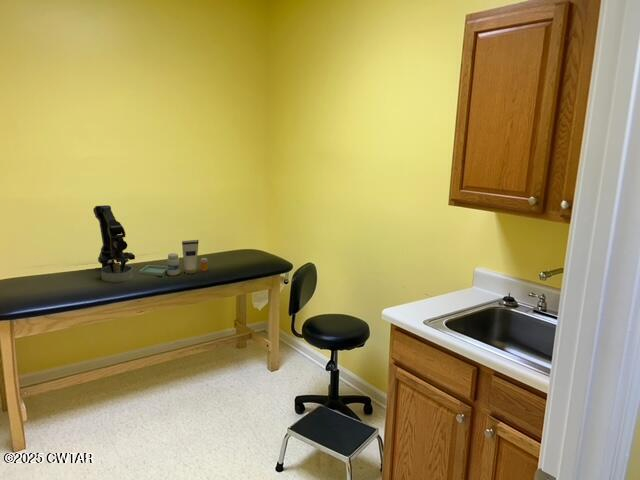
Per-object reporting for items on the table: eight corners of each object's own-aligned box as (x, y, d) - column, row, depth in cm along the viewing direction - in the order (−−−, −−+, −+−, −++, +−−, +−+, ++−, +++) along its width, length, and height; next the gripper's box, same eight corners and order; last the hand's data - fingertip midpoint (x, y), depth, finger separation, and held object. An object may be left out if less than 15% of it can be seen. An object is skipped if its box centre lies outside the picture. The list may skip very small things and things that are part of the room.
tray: (139, 274, 267) (139, 270, 267) (148, 268, 279) (147, 264, 278) (162, 276, 267) (162, 273, 266) (170, 270, 278) (170, 266, 277)
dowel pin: (113, 277, 258) (113, 264, 256) (116, 275, 261) (115, 262, 259) (118, 277, 258) (118, 264, 256) (121, 276, 261) (120, 262, 259)
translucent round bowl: (95, 281, 252) (95, 272, 251) (111, 272, 268) (110, 263, 267) (124, 284, 251) (124, 274, 250) (138, 274, 268) (137, 265, 266)
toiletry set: (168, 276, 268) (167, 243, 263) (165, 272, 274) (165, 240, 269) (209, 272, 281) (209, 240, 276) (205, 268, 287) (206, 237, 282)
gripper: (103, 252, 243) (104, 279, 247) (138, 247, 255) (138, 273, 259) (97, 246, 251) (98, 273, 255) (131, 243, 263) (132, 268, 267)
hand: (117, 272), depth 259 cm, fingers open, 5 cm apart
